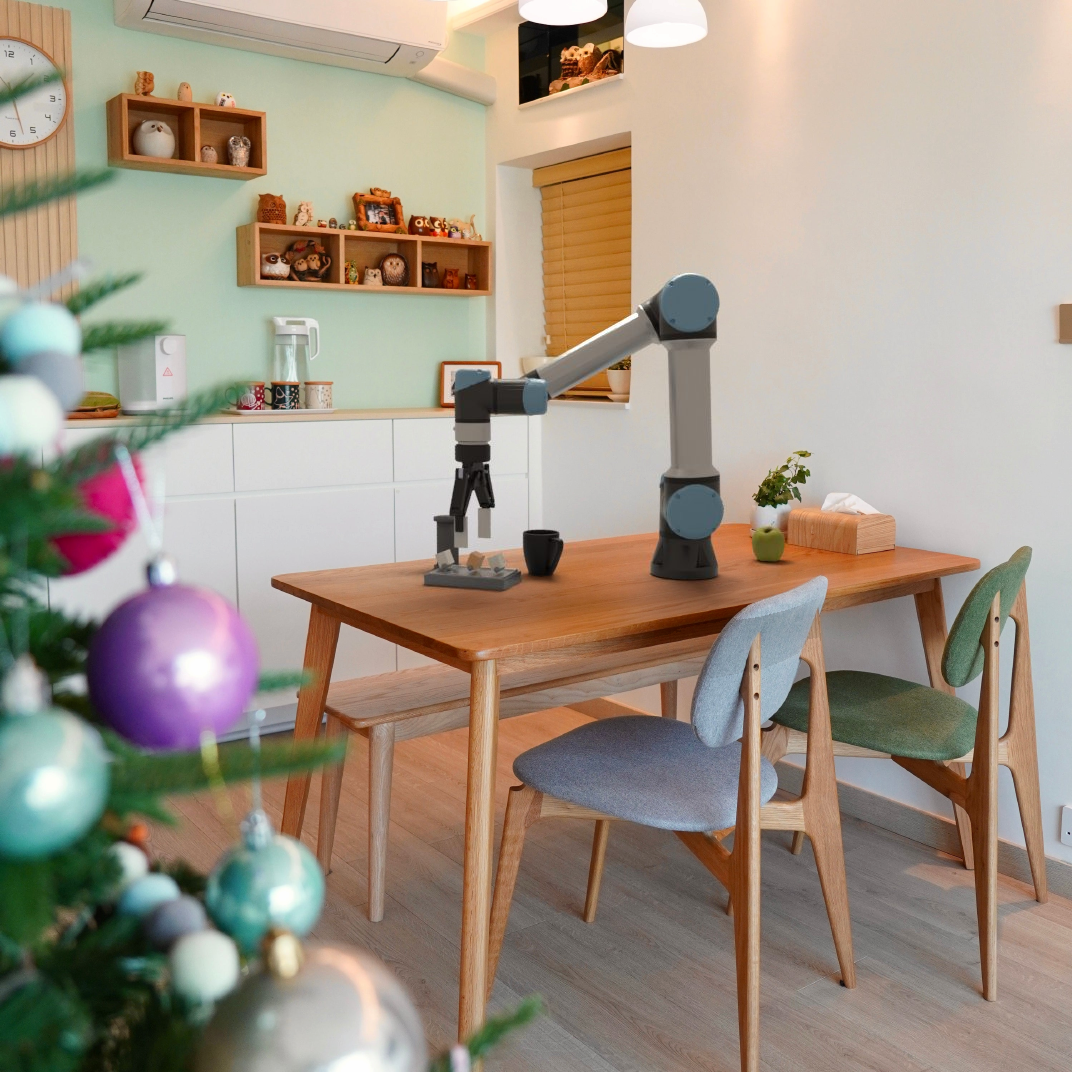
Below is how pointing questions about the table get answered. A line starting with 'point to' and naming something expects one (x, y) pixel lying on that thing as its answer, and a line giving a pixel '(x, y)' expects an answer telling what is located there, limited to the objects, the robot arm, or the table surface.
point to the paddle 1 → (445, 559)
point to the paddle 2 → (497, 562)
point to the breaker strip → (473, 577)
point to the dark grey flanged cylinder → (446, 537)
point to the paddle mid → (475, 561)
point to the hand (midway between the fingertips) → (473, 542)
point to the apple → (768, 543)
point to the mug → (542, 551)
